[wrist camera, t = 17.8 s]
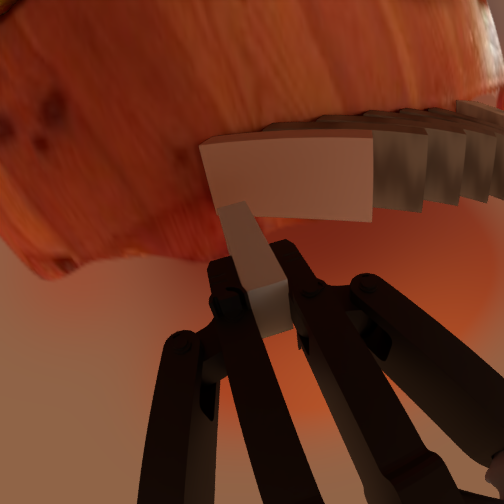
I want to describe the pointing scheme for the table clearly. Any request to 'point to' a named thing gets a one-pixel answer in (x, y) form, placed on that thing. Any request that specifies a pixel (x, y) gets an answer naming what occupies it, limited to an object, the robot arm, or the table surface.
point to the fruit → (6, 5)
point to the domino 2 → (387, 160)
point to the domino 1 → (293, 173)
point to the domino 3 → (430, 155)
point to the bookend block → (480, 111)
